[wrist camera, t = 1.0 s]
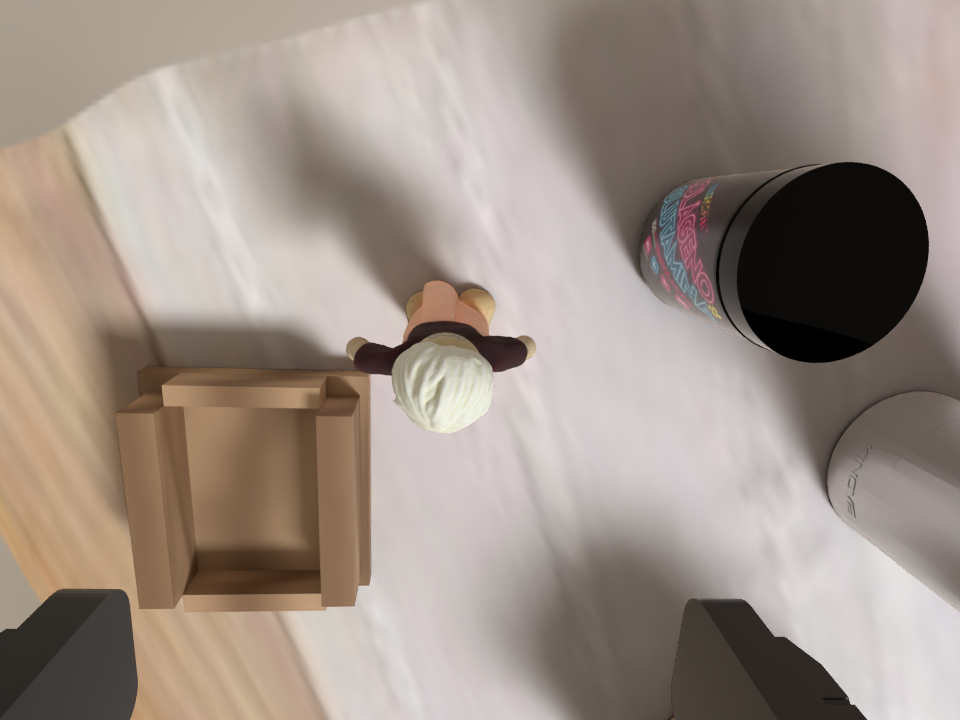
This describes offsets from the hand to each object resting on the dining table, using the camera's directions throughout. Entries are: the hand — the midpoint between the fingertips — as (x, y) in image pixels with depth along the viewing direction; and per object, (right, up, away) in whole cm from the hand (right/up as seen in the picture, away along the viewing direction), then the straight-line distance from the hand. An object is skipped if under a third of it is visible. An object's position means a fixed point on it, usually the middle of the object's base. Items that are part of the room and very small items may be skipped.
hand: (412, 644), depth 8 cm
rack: (-10, -2, +22) cm, 25 cm away
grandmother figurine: (-1, +6, +21) cm, 22 cm away
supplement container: (+12, +10, +21) cm, 26 cm away
